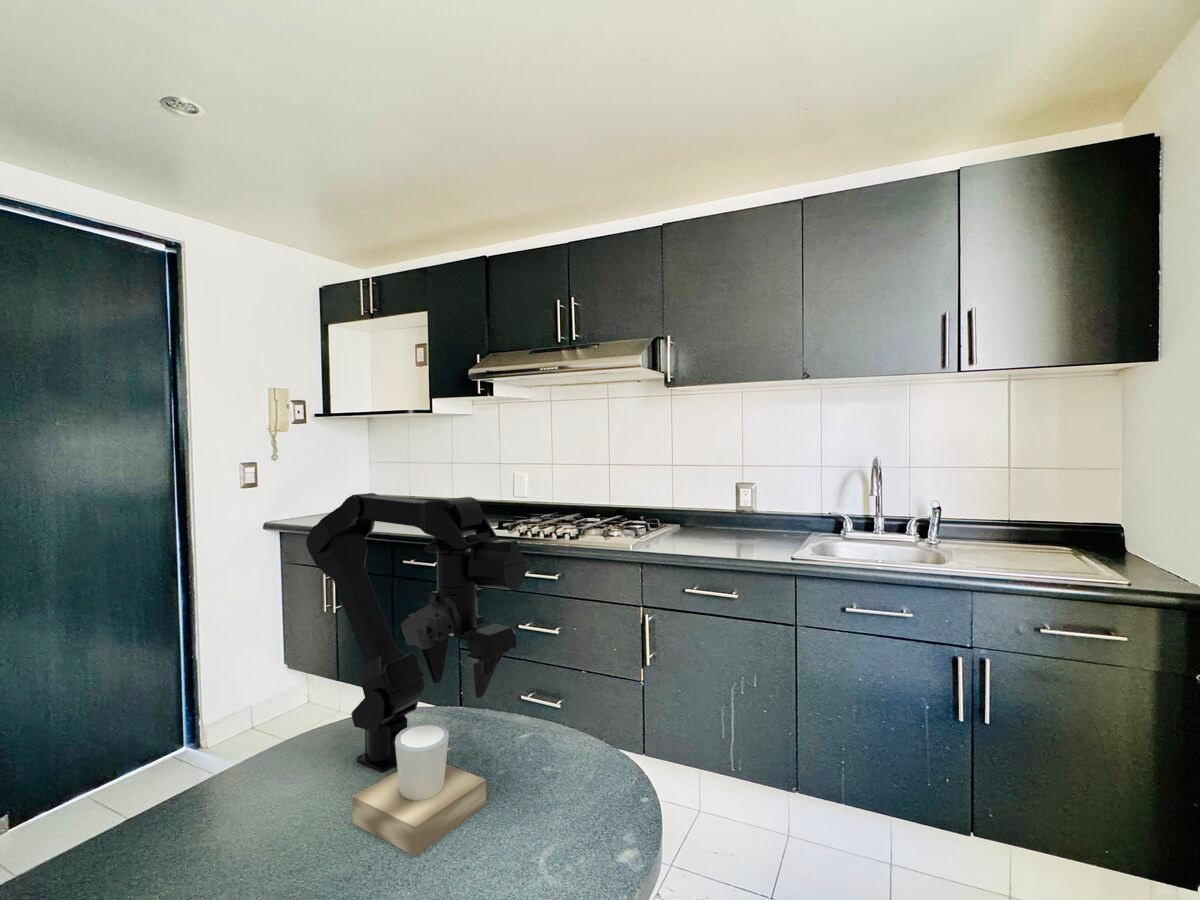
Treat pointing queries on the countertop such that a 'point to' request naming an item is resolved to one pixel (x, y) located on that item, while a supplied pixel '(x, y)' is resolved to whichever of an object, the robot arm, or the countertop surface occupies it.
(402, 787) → the shot glass
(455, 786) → the birch block
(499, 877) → the countertop surface
